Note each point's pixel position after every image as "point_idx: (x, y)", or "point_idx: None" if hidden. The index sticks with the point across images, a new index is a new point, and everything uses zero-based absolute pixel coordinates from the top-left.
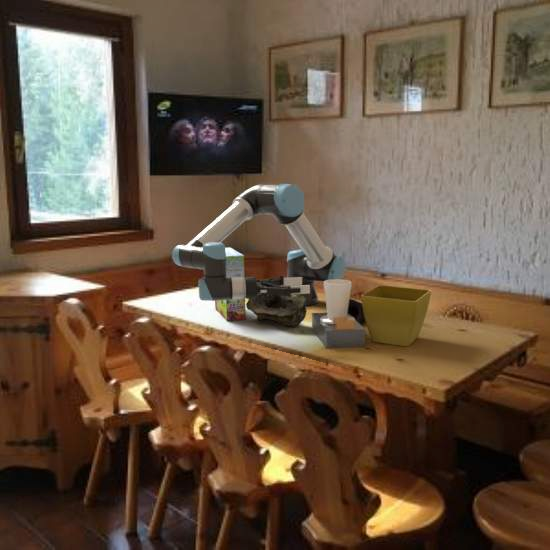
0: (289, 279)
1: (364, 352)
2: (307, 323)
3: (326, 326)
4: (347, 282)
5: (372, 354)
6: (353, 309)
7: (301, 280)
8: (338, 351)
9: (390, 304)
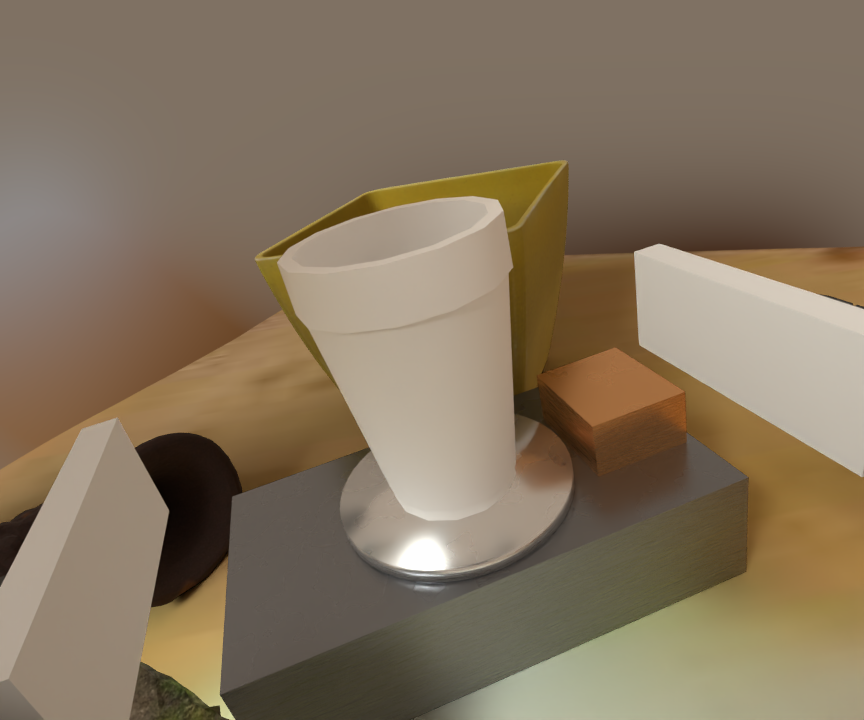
0: (73, 586)
1: (694, 424)
2: None
3: (630, 503)
4: (351, 235)
5: (704, 400)
6: None
7: (138, 461)
8: (756, 507)
9: (554, 210)
